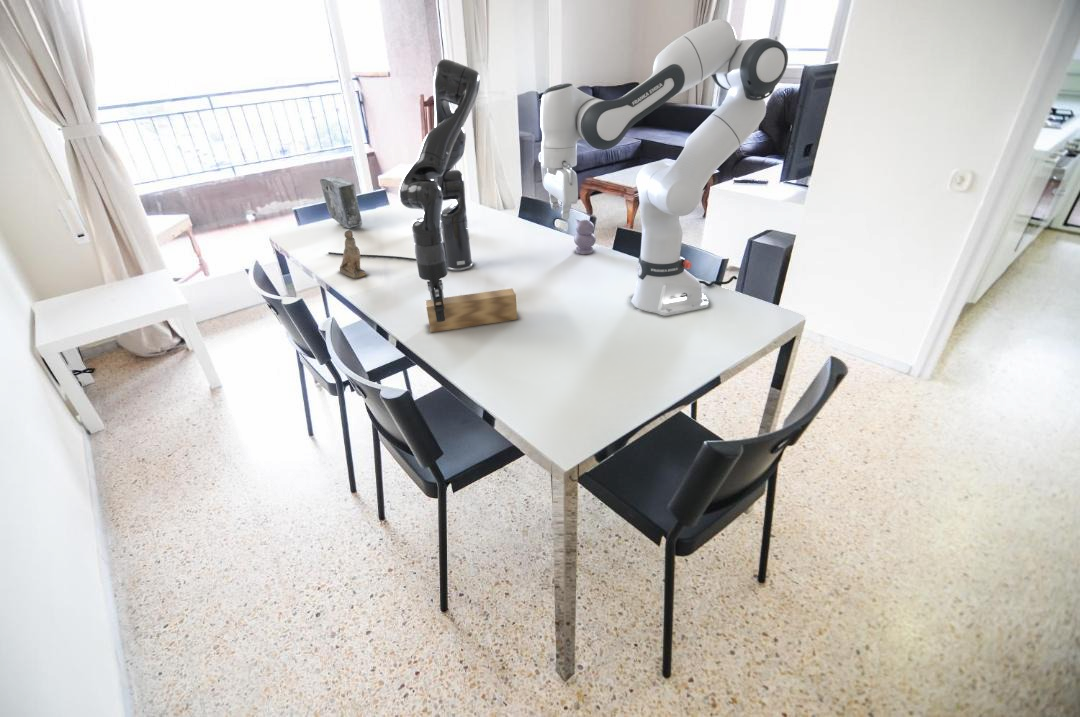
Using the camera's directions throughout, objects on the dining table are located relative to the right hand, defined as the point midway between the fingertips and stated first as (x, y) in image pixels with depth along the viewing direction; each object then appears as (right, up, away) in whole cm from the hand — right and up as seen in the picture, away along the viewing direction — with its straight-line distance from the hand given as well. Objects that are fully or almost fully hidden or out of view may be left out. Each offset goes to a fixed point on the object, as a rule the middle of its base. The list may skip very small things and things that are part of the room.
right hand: (559, 213), depth 131 cm
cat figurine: (+12, +3, +59) cm, 60 cm away
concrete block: (-95, +24, +100) cm, 140 cm away
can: (-51, +20, +92) cm, 107 cm away
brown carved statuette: (-73, -8, +47) cm, 87 cm away
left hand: (-33, -26, +8) cm, 43 cm away
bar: (-24, -28, +11) cm, 39 cm away
